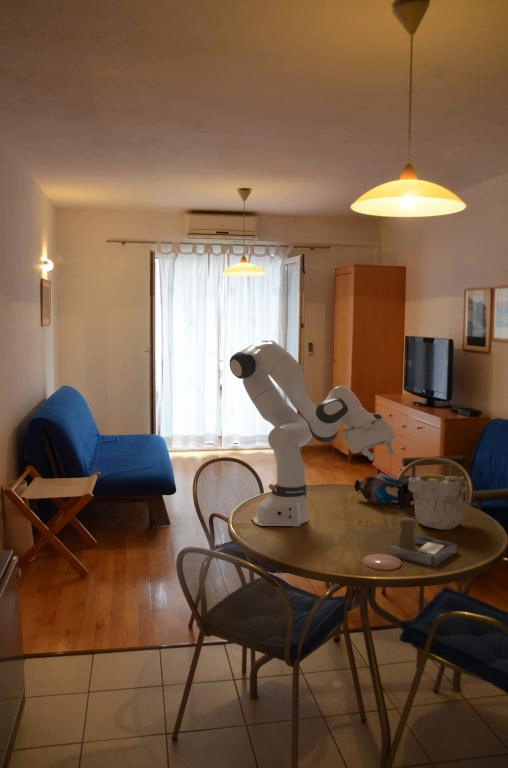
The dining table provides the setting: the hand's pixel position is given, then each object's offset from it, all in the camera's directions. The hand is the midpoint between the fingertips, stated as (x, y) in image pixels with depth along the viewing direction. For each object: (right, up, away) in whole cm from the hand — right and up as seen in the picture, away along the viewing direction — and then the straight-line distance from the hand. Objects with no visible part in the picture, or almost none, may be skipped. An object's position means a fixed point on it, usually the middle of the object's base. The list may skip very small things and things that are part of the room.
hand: (382, 455), depth 226 cm
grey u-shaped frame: (+12, -32, -6) cm, 35 cm away
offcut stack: (+14, -33, -8) cm, 37 cm away
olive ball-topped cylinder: (+8, -32, -2) cm, 33 cm away
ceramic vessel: (+28, -29, +27) cm, 48 cm away
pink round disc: (-3, -33, -14) cm, 36 cm away
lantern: (+11, -27, +54) cm, 61 cm away
